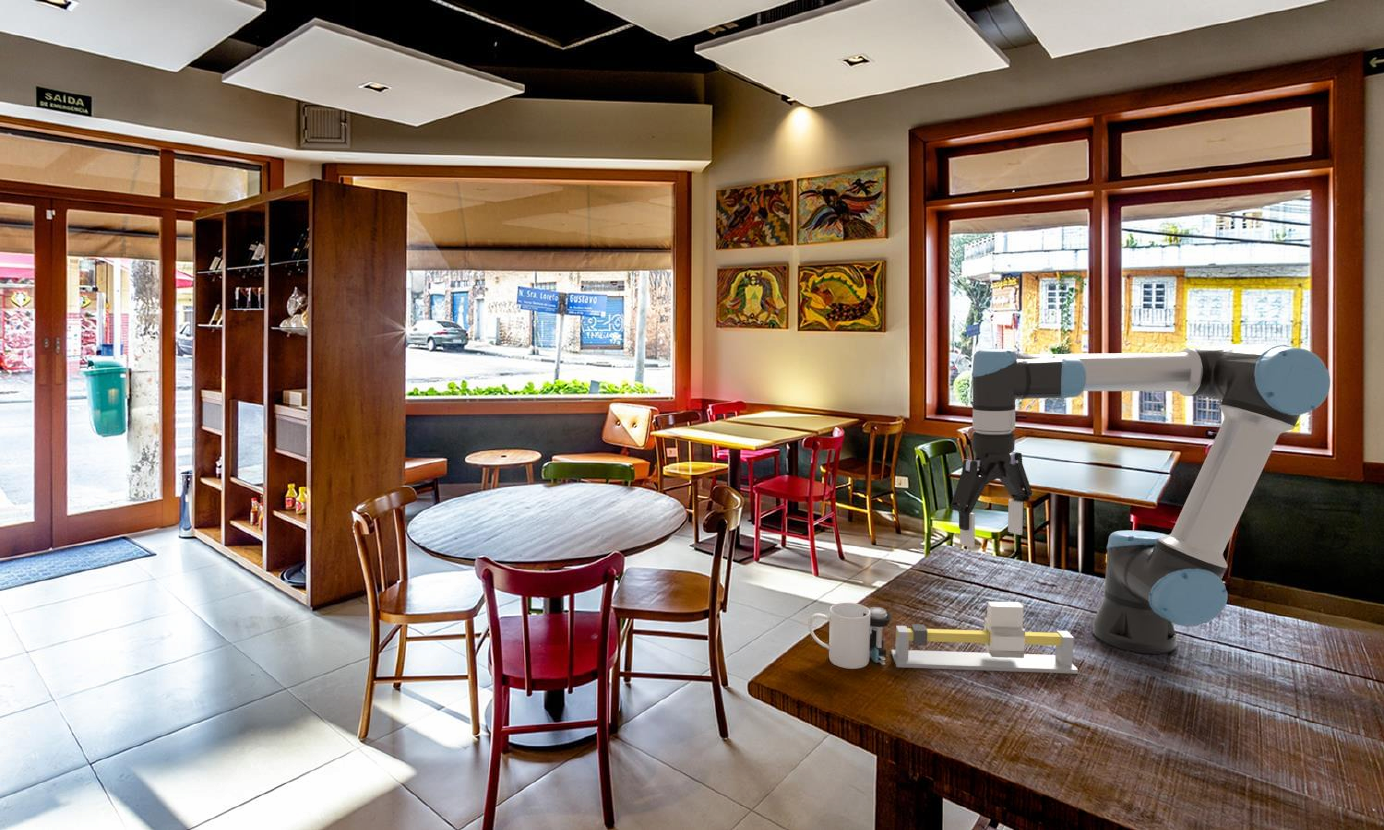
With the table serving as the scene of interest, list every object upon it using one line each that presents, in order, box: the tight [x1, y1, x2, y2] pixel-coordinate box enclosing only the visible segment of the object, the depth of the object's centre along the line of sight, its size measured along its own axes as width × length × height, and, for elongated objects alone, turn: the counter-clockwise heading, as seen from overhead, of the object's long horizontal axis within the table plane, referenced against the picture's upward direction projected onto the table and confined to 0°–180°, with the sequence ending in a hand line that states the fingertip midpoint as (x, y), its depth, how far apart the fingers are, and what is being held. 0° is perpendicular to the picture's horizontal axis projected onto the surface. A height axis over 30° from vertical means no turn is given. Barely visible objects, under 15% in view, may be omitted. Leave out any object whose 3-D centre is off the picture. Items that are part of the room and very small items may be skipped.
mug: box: [807, 602, 871, 670], centre depth 147 cm, size 12×8×10 cm, turn 92°
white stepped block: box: [982, 601, 1026, 658], centre depth 145 cm, size 6×6×10 cm
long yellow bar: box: [895, 623, 1062, 647], centre depth 146 cm, size 32×3×3 cm, turn 84°
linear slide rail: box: [890, 625, 1079, 675], centre depth 146 cm, size 34×6×7 cm, turn 84°
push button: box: [863, 606, 892, 666], centre depth 148 cm, size 7×5×10 cm
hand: (991, 539), depth 143 cm, fingers open, 13 cm apart
